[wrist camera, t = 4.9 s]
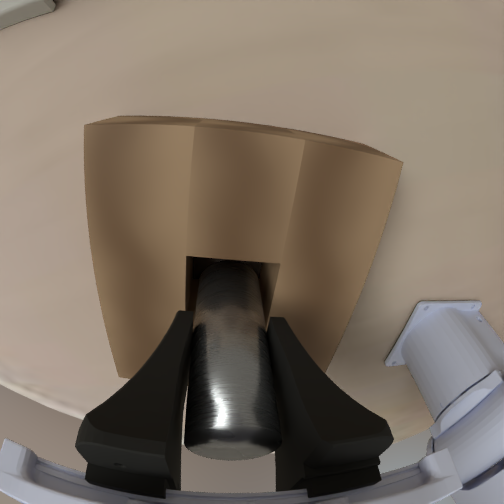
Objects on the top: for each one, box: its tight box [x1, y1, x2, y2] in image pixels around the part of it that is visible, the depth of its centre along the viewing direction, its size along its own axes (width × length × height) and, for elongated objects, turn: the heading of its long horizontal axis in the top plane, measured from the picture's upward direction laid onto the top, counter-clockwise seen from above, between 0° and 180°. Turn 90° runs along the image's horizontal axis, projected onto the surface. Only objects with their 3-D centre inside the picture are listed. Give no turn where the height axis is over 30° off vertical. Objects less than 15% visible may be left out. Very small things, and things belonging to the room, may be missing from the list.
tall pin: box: [184, 260, 282, 460], centre depth 12 cm, size 3×3×9 cm
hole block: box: [84, 116, 403, 379], centre depth 17 cm, size 14×16×4 cm
